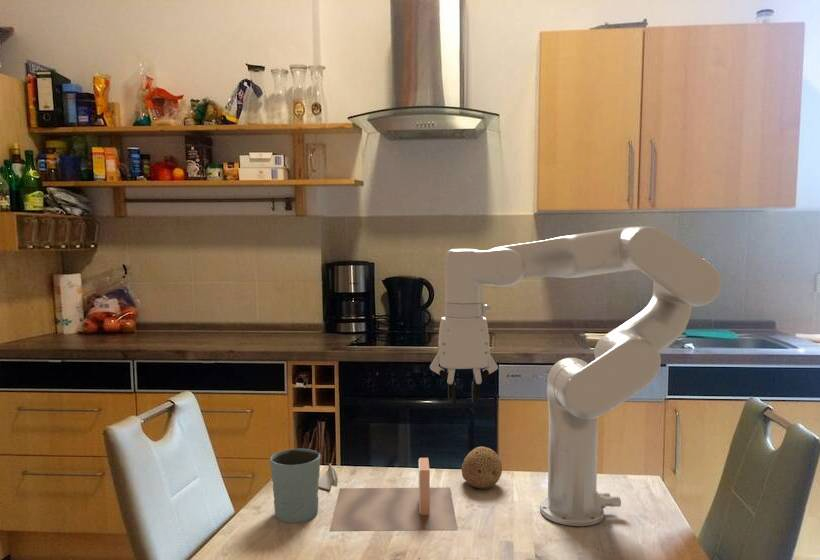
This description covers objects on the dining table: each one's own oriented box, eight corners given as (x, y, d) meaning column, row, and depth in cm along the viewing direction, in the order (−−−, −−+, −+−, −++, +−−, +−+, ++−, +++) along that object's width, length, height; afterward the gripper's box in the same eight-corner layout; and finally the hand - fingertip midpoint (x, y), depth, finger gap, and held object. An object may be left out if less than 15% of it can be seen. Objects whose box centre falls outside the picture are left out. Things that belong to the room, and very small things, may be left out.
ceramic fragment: (340, 496, 140) (340, 479, 140) (316, 498, 139) (316, 481, 138) (333, 474, 153) (333, 458, 153) (312, 475, 152) (311, 459, 152)
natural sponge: (502, 501, 136) (502, 455, 135) (460, 499, 137) (460, 454, 136) (501, 484, 145) (501, 441, 144) (461, 483, 146) (461, 440, 145)
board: (450, 494, 140) (450, 487, 140) (457, 537, 120) (457, 529, 120) (340, 494, 139) (339, 488, 139) (329, 538, 119) (329, 530, 119)
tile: (428, 500, 133) (428, 457, 132) (429, 514, 126) (429, 470, 125) (418, 500, 133) (418, 457, 132) (419, 514, 126) (419, 470, 125)
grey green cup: (278, 528, 124) (277, 468, 123) (265, 509, 133) (264, 452, 132) (328, 518, 128) (327, 459, 127) (312, 499, 137) (311, 444, 136)
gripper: (502, 308, 130) (502, 397, 132) (421, 309, 130) (421, 397, 132) (508, 313, 123) (508, 407, 124) (422, 313, 123) (422, 407, 124)
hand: (463, 401), depth 128 cm, fingers open, 3 cm apart
